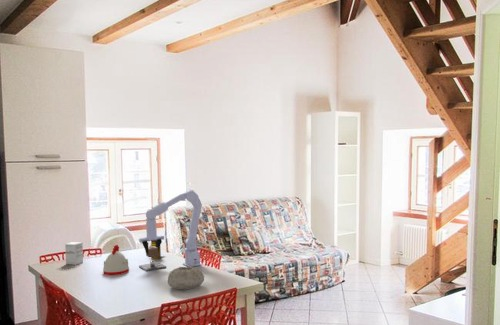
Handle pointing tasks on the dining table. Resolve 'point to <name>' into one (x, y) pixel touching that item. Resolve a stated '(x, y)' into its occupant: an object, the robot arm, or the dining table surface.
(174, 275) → the grey stone
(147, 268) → the hub plate
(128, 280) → the dining table surface
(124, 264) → the kitchen timer
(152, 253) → the taped cardboard box
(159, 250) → the condiment
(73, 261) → the supplement box
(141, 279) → the dining table surface
